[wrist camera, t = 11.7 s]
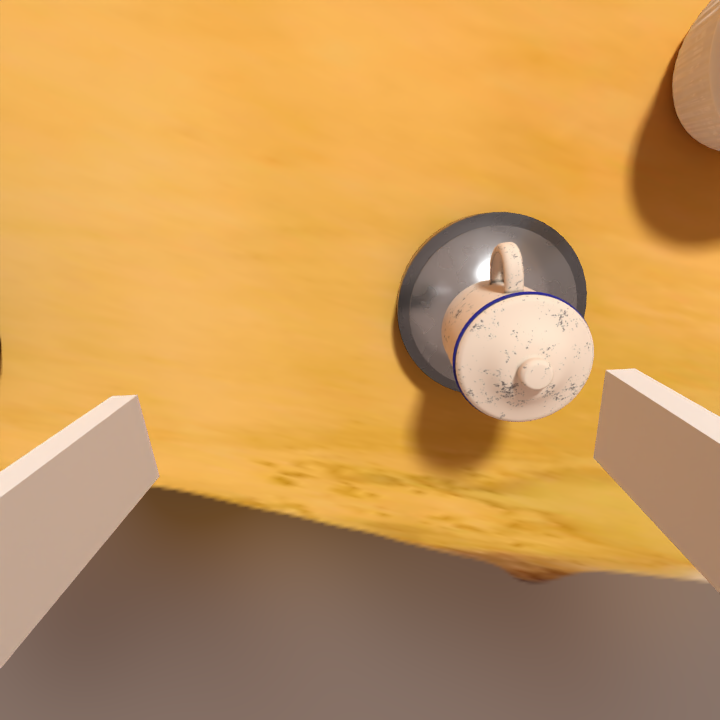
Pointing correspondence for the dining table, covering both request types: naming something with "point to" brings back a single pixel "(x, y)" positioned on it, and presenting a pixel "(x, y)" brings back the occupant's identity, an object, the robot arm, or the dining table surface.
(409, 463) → the dining table surface
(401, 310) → the dark gray round plate
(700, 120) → the ramekin
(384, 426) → the dining table surface
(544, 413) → the teacup with lid
